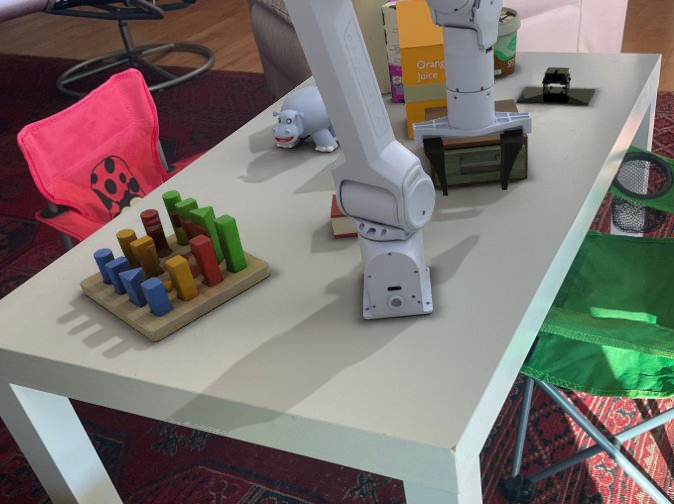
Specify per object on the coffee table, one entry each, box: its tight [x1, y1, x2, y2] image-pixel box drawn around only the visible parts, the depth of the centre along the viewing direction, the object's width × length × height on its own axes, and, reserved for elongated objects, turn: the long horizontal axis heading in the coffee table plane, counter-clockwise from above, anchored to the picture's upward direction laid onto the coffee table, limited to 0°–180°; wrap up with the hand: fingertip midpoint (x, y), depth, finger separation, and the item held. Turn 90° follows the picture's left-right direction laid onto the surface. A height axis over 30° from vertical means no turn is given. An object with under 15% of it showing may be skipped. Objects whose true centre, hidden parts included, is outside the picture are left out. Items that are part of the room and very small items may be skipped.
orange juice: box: [396, 0, 447, 140], centre depth 119 cm, size 8×9×20 cm
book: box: [330, 193, 358, 239], centre depth 101 cm, size 6×4×3 cm
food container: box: [493, 6, 522, 80], centre depth 140 cm, size 12×6×10 cm, turn 168°
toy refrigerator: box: [351, 0, 391, 95], centre depth 136 cm, size 8×7×21 cm
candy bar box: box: [381, 0, 407, 103], centre depth 131 cm, size 11×5×16 cm, turn 73°
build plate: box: [516, 66, 596, 107], centre depth 130 cm, size 12×7×5 cm, turn 70°
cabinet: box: [424, 98, 529, 189], centre depth 112 cm, size 14×14×6 cm
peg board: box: [79, 189, 272, 342], centre depth 92 cm, size 18×17×9 cm
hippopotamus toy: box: [271, 84, 339, 153], centre depth 122 cm, size 11×15×10 cm
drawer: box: [435, 143, 525, 186], centre depth 109 cm, size 17×13×5 cm
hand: (474, 189), depth 98 cm, fingers open, 7 cm apart
